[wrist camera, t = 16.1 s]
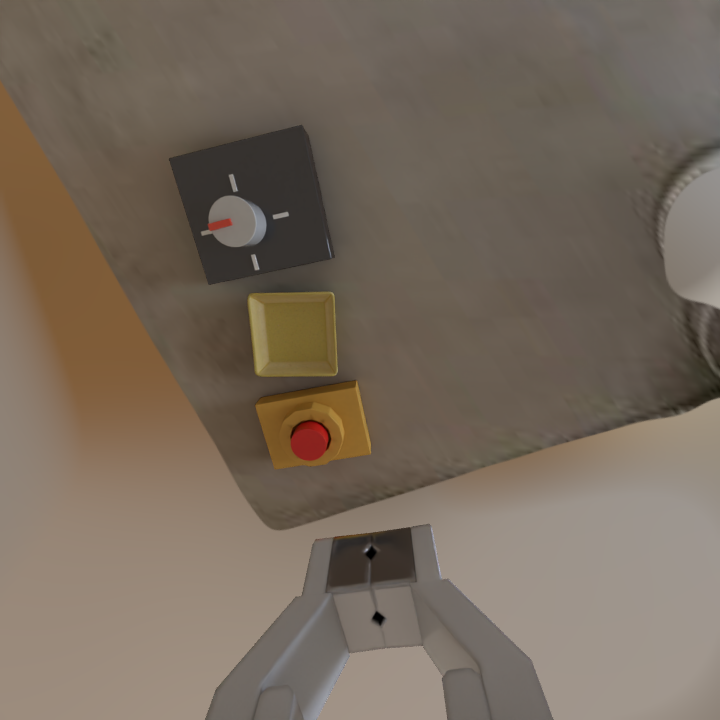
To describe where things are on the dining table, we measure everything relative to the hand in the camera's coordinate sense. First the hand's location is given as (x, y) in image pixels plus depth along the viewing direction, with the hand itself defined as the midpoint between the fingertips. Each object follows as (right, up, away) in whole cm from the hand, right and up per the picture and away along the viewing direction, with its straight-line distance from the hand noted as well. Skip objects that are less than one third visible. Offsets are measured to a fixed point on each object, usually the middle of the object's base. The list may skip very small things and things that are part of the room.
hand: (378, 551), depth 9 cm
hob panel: (-10, +19, +26) cm, 34 cm away
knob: (-11, +17, +24) cm, 31 cm away
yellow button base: (-5, -2, +33) cm, 33 cm away
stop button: (-5, -3, +29) cm, 30 cm away
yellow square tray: (-7, +8, +30) cm, 32 cm away
